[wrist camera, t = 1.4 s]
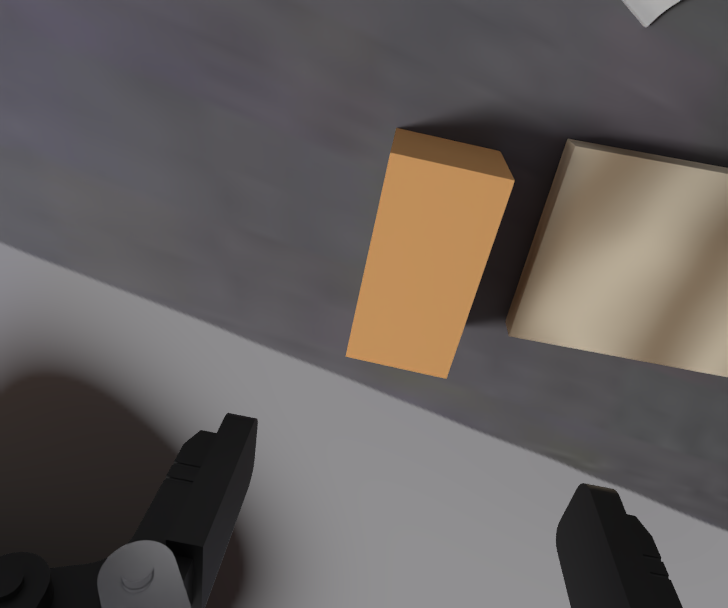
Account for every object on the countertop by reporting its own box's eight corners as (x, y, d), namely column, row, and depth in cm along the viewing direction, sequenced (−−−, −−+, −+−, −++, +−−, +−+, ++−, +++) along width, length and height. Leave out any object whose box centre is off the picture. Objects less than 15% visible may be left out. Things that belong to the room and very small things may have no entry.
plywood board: (936, 206, 24) (965, 217, 23) (811, 378, 29) (829, 396, 28) (567, 138, 25) (575, 145, 23) (505, 321, 30) (508, 336, 28)
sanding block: (499, 150, 25) (514, 180, 21) (443, 325, 30) (446, 378, 26) (396, 126, 25) (390, 152, 21) (357, 305, 30) (345, 356, 26)
